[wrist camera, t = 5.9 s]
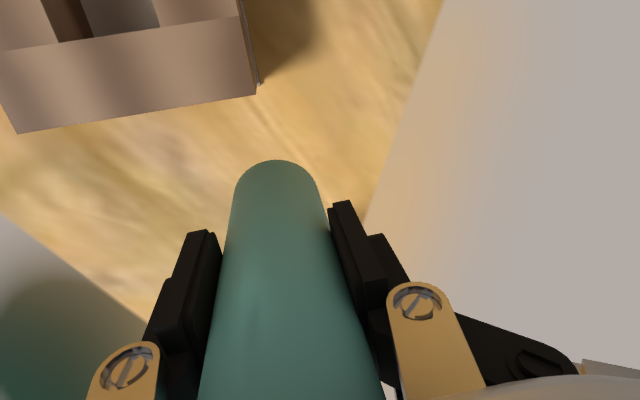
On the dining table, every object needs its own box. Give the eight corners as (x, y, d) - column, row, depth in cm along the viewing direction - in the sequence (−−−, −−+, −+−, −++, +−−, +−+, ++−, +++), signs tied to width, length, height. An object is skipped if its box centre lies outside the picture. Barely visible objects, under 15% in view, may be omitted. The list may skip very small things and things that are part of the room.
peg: (312, 150, 14) (448, 506, 4) (325, 227, 16) (445, 622, 5) (221, 168, 14) (95, 597, 4) (244, 244, 16) (205, 688, 5)
